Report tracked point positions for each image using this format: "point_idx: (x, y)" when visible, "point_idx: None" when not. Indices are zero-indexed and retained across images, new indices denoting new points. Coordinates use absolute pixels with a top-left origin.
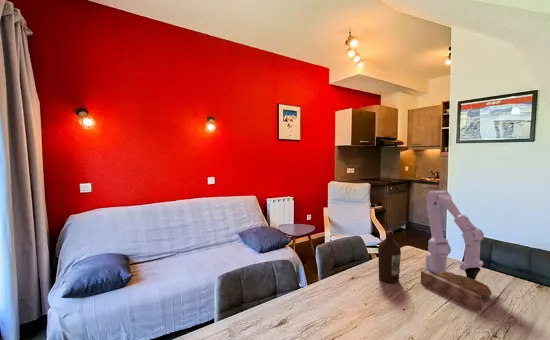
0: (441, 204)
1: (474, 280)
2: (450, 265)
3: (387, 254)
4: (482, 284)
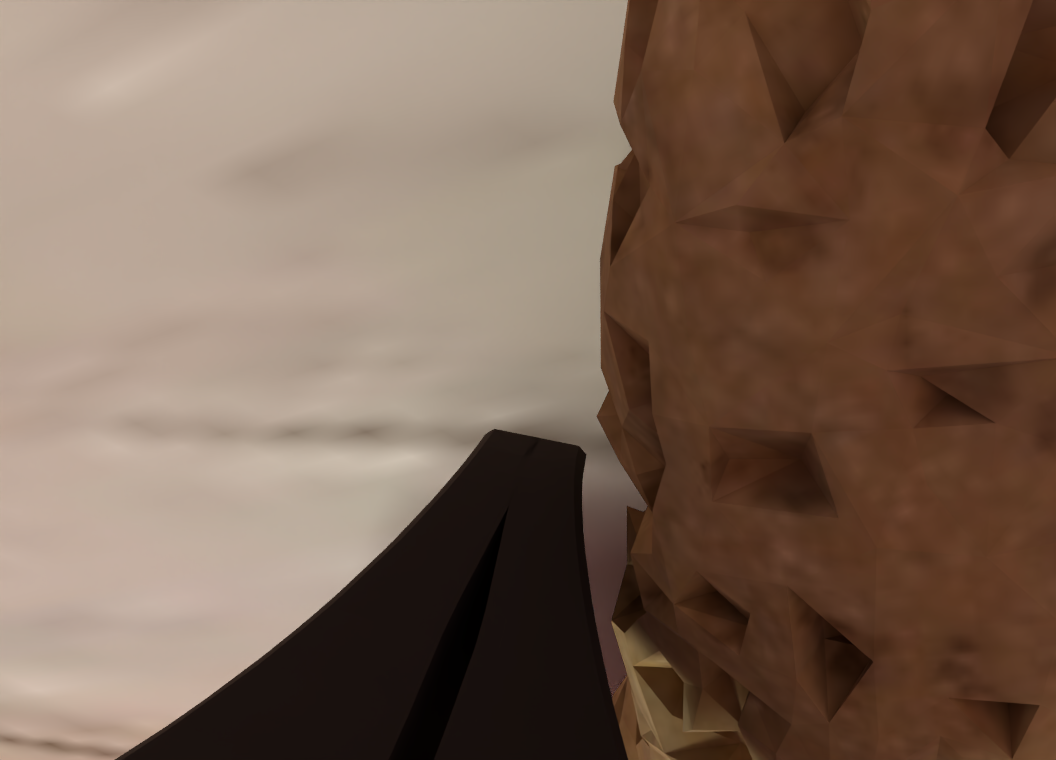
0: None
1: (955, 543)
2: (52, 740)
3: None
4: (994, 69)
